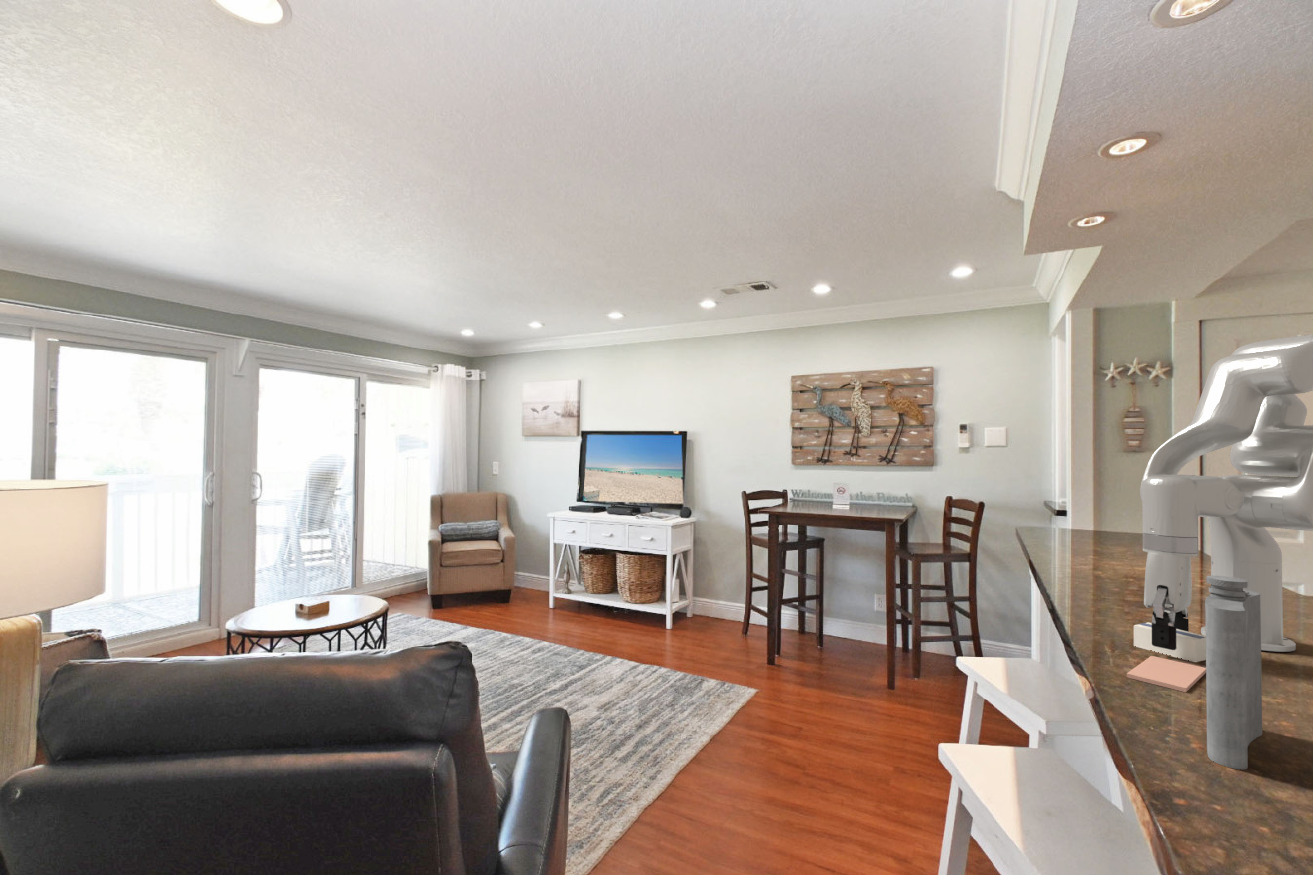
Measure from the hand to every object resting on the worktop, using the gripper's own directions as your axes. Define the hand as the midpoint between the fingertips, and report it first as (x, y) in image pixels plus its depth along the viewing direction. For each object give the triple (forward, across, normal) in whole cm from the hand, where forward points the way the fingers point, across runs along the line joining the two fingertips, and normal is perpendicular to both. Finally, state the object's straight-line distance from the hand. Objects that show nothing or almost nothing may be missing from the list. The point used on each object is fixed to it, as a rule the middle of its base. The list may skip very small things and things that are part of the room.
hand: (1170, 642), depth 103 cm
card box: (+2, 0, 0) cm, 2 cm away
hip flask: (+2, +38, +13) cm, 40 cm away
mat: (+2, +15, +2) cm, 15 cm away
